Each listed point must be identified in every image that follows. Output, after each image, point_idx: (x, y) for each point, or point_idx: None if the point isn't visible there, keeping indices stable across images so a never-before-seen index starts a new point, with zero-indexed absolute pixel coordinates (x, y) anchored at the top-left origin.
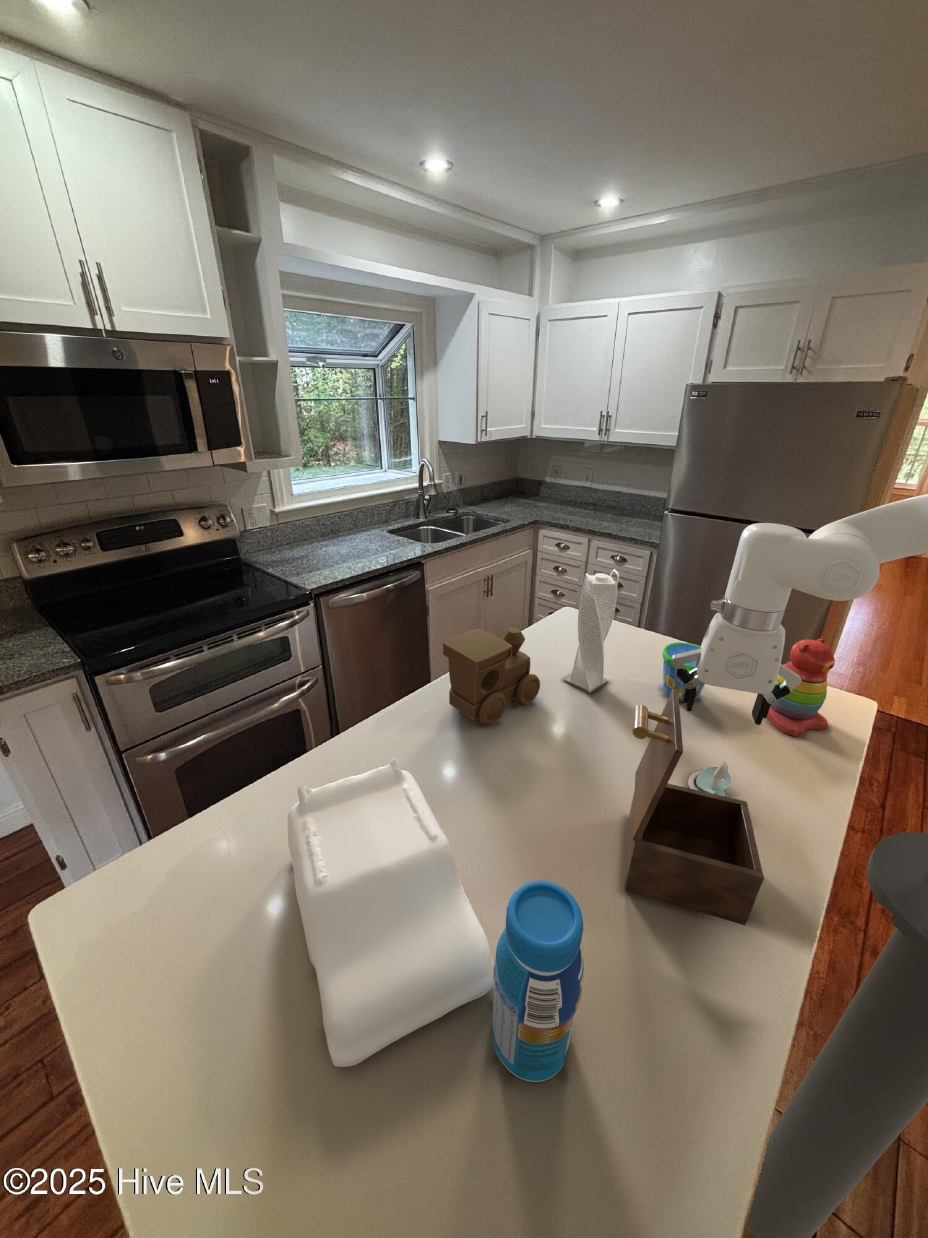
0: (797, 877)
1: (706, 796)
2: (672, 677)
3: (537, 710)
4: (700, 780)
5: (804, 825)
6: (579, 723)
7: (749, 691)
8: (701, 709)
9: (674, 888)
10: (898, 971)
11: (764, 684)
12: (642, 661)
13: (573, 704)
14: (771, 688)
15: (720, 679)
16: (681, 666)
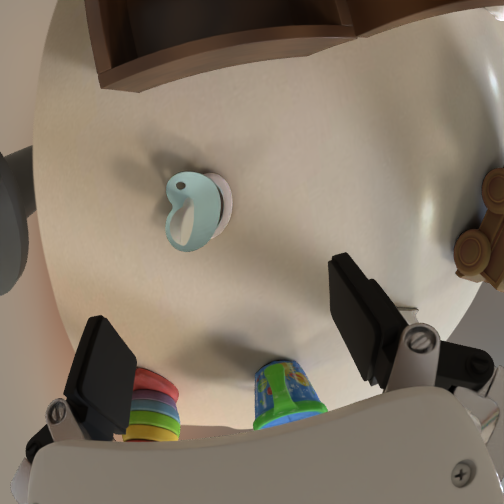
0: (55, 104)
1: (191, 41)
2: (302, 386)
3: (447, 235)
4: (213, 206)
5: (64, 214)
6: (404, 241)
7: (104, 449)
8: (246, 361)
9: None
10: (29, 165)
11: (51, 497)
12: (326, 389)
13: (410, 274)
14: (30, 472)
15: (331, 483)
16: (498, 394)
